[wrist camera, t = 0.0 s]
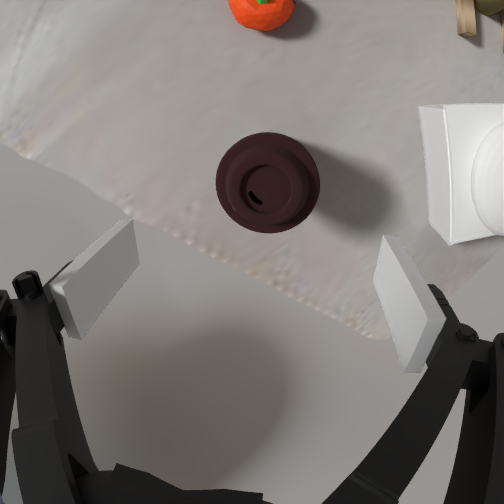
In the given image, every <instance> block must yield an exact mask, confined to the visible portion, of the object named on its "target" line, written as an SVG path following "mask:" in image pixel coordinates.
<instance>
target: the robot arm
mask: <svg viewBox="0 0 504 504" xmlns="http://www.w3.org/2000/svg"><path fill="white" fill-rule="evenodd" d="M139 264H140V263H139V257H138V251H137V245H136V238H135V232H134V225H133V220H130V219H121V220H119V221H118V222H117V223H116V224H115V225H113V226H112V227H111V228H110V229H109V230H107V231H106V232H105V233H104V234H103V235H102V236H101V237H99V238H98V239H97V240H96V241H95V242H94V243H93V244H91V245H90V246H89V247H88V248H87V249H86V250H85V251H84V252H83V253H81V254H80V255H79V256H78V257H77V258H76V259H75V260H73V261H71V262H69V263H68V264H66V265H65V266H64V267H63V268H62V269H61V270H60V271H59V272H58V273H57V274H56V275H54V277H52V279H50V280H49V281H48V282H47V283H46V284H45V285H44V286H43V287H42V284H41V281H40V278H39V275H38V273H37V272H36V271H26V272H23V273H21V274H19V275H18V276H16V277H15V278H14V279H13V281H12V284H13V287H14V289H15V292H16V294H17V297H18V299H10V297H9V295H8V293H7V291H6V290H0V504H5V503H4V502H3V501H2V493H3V487H4V482H5V473H6V461H7V449H8V439H9V431H10V423H11V416H12V410H13V404H14V399H15V393H16V396H17V409H18V420H19V428H17V429H13V431H12V445H13V453H14V460H15V466H16V471H17V477H18V482H19V486H20V491H21V495H22V500H23V504H272V503H270V502H266V501H263V500H262V497H263V493H254V492H245V491H237V490H229V489H214V490H182V489H179V488H177V487H175V486H173V485H171V484H169V483H167V482H165V481H163V480H161V479H159V478H157V477H155V476H153V475H151V474H150V473H147V472H143V471H140V470H136V469H133V468H130V467H127V466H124V465H120V464H118V463H116V466H115V468H114V471H112V470H110V471H109V470H108V471H99V470H98V468H97V467H96V465H95V463H94V461H93V459H92V456H91V453H90V450H89V447H88V444H87V441H86V437H85V434H84V431H83V427H82V424H81V420H80V417H79V413H78V410H77V406H76V402H75V398H74V393H73V389H72V385H71V380H70V375H69V370H68V366H67V360H66V354H65V349H64V343H63V337H62V335H61V333H60V331H61V330H62V329H63V327H65V329H66V331H67V334H68V336H69V337H72V338H76V339H80V340H82V339H83V338H84V336H85V335H86V333H87V332H88V331H89V329H90V328H91V326H92V325H93V324H94V322H95V321H96V320H97V318H98V317H99V316H100V314H101V313H102V312H103V310H104V309H105V308H106V306H107V305H108V304H109V302H110V301H111V300H112V299H113V297H114V296H115V294H116V293H117V292H118V291H119V289H120V288H121V287H122V286H123V284H124V283H125V282H126V280H127V279H128V278H129V277H130V275H131V274H132V273H133V272H134V270H135V269H136V268H137V267H138V265H139ZM373 283H374V285H375V288H376V291H377V293H378V296H379V299H380V302H381V305H382V308H383V310H384V313H385V316H386V319H387V322H388V325H389V328H390V331H391V334H392V338H393V341H394V344H395V347H396V350H397V354H398V357H399V360H400V364H401V367H402V371H403V373H420V372H421V370H422V368H423V366H424V364H425V363H426V364H427V366H428V369H427V370H426V372H425V374H424V376H423V377H422V379H421V380H420V382H419V383H418V385H417V387H416V388H415V390H414V391H413V393H412V395H411V396H410V398H409V399H408V401H407V402H406V404H405V405H404V407H403V408H402V409H401V411H400V412H399V414H398V415H397V417H396V418H395V420H394V421H393V422H392V424H391V425H390V426H389V428H388V429H387V430H386V432H385V433H384V435H383V436H382V437H381V438H380V440H379V441H378V442H377V443H376V445H375V446H374V447H373V449H372V450H371V451H370V452H369V453H368V455H367V456H366V457H365V458H364V460H363V461H362V462H361V463H360V464H359V465H358V467H357V468H356V469H355V470H354V471H353V472H352V473H351V474H350V475H349V476H348V477H347V478H346V479H345V480H344V481H343V482H342V483H341V484H340V485H339V487H338V488H337V489H336V490H335V491H334V492H333V493H332V494H331V495H330V496H329V497H328V498H327V499H326V500H325V501H324V502H323V503H322V504H398V502H399V501H398V499H399V497H400V496H401V494H402V493H403V491H404V490H405V488H406V487H407V485H408V484H409V482H410V481H411V479H412V478H413V476H414V475H415V473H416V472H417V470H418V468H419V467H420V465H421V464H422V462H423V460H424V459H425V457H426V455H427V454H428V452H429V450H430V449H431V447H432V445H433V443H434V441H435V440H436V438H437V436H438V434H439V432H440V430H441V429H442V427H443V425H444V423H445V421H446V419H447V417H448V415H449V413H450V411H451V408H452V406H453V404H454V402H455V400H456V398H457V396H458V393H459V391H460V389H466V398H465V407H464V414H463V420H462V427H461V433H460V438H459V444H458V449H457V453H456V458H455V463H454V467H453V471H452V475H451V479H450V483H449V486H448V490H447V494H446V497H445V500H444V503H443V504H504V333H499V334H497V335H496V337H495V338H494V340H493V342H489V341H485V340H481V339H479V337H478V334H477V332H476V331H475V330H474V329H473V328H471V327H470V326H468V325H465V324H463V323H460V322H459V320H458V318H457V317H456V315H455V313H454V311H453V309H452V308H451V306H449V303H448V301H447V300H446V298H445V296H444V294H443V293H442V291H441V290H440V289H438V288H437V287H436V286H435V285H434V284H427V283H426V282H425V280H424V278H423V277H422V275H421V273H420V272H419V270H418V268H417V267H416V265H415V264H414V262H413V260H412V259H411V257H410V256H409V254H408V252H407V251H406V249H405V248H404V246H403V245H402V243H401V242H400V240H399V239H398V237H397V236H392V235H383V238H382V243H381V248H380V252H379V257H378V261H377V266H376V270H375V274H374V279H373ZM1 337H2V340H1Z"/></svg>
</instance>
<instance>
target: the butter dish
mask: <svg viewBox="0 0 504 504" xmlns="http://www.w3.org/2000/svg"><path fill="white" fill-rule="evenodd" d="M418 112H419V119H420V125H421V133H422V140H423V149H424V158H425V169H426V182H427V200H428V222H429V223H430V225H431V226H432V227H433V228H434V229H435V230H436V231H437V232H438V233H439V235H440V236H441V237H442V238H443V239H444V240H445V241H446V242H447V244H448V245H449V246H451V245H453V244H456V243H461V242H465V241H470V240H475V239H480V238H485V237H490V236H494V235H501V236H504V103H461V104H438V105H422V106H418Z"/></svg>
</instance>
